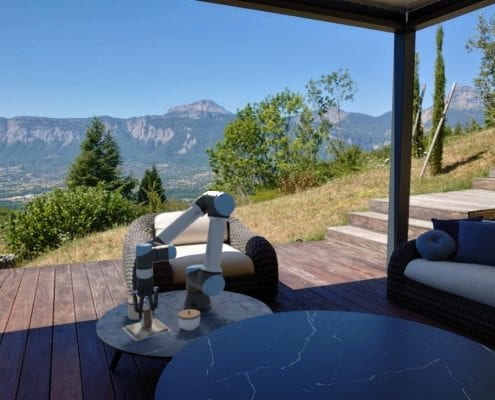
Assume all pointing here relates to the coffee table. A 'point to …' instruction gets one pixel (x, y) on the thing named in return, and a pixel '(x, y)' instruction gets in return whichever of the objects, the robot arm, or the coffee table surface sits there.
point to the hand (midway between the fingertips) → (146, 324)
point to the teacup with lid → (131, 312)
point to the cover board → (149, 331)
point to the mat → (144, 337)
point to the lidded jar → (189, 319)
